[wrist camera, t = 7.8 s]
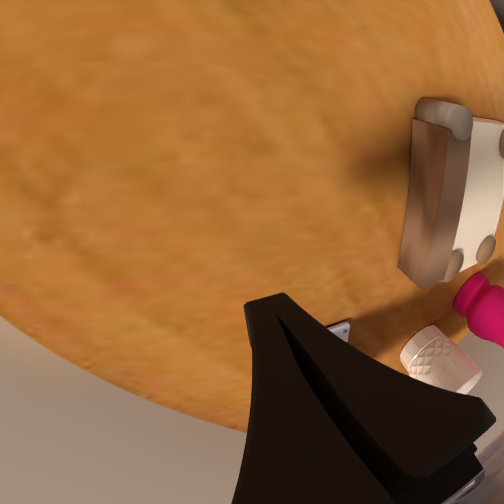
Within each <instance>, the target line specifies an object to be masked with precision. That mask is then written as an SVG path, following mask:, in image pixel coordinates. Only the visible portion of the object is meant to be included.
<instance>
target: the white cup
mask: <svg viewBox="0 0 504 504" xmlns="http://www.w3.org/2000/svg"><path fill="white" fill-rule="evenodd" d="M400 361H401V362H402V364H403V365H404V367H405V368H406V370H407V371H408V372H409V375H410V377H412V378H415V379H417V380H420V381H422V382H425V383H427V384H430V385H433V386H436V387H439V388H442V389H445V390H449V391H453V392H457V393H461V394H467V393H468V392H469V391H470V390H471V389H472V388H473V386H474V385H475V384H476V383H477V382H478V380H479V379H480V377H481V375H482V373H483V372H482V371H481V369H480V368H478V367H477V365H476V364H475V363H474V362H473V361H472V360H471V359H470V358H469V357H468V356H467V355H466V354H465V353H464V352H463V351H462V350H461V349H460V348H459V347H458V346H457V345H456V344H455V343H454V342H453V341H452V340H451V339H450V338H449V337H446V335H444V334H443V333H442V332H441V331H440V330H439V329H438V328H437V327H436V326H435V325H430V326H427V327H425V328H423V329H422V330H420V331H419V332H418V333H416V334H415V335H414V336H413V337H412V338H411V339H410V340H409V341H408V343H407V344H406V345H405V346H404V348H403V350H402V352H401V354H400Z"/></svg>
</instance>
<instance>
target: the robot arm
mask: <svg viewBox="0 0 504 504" xmlns="http://www.w3.org/2000/svg"><path fill="white" fill-rule="evenodd" d="M244 312H245V318H246V324H247V329H248V335H249V341H250V345H251V348H252V393H251V406H250V415H249V423H248V431H247V437H246V444H245V449H244V454H243V459H242V464H241V468H240V473H239V478H238V482H237V486H236V489H235V493H234V496H233V500H232V503H231V504H445V503H446V502H447V503H446V504H504V431H503V432H502V433H501V434H500V435H499V436H498V437H497V438H496V439H495V440H494V441H492V442H491V443H490V444H489V446H488V447H486V448H485V449H484V450H483V451H482V452H481V453H480V454H478V455H477V456H475V454H474V453H475V452H476V451H477V447H476V446H475V445H474V443H473V442H474V441H476V440H477V439H478V438H479V437H480V436H481V435H482V434H483V433H485V432H486V431H487V430H488V429H489V428H490V427H491V426H492V425H493V424H494V423H495V422H496V417H495V416H494V415H493V413H492V412H491V411H490V409H489V408H488V407H487V405H486V404H485V403H484V402H483V401H482V399H481V398H479V397H475V396H470V395H466V394H461V393H457V392H453V391H449V390H445V389H442V388H439V387H436V386H433V385H430V384H427V383H425V382H422V381H420V380H417V379H415V378H412V377H410V376H407V375H405V374H402V373H400V372H398V371H396V370H394V369H392V368H390V367H388V366H386V365H384V364H382V363H380V362H378V361H376V360H374V359H373V358H371V357H369V356H367V355H366V354H364V353H362V352H361V351H359V350H358V349H356V348H354V347H353V346H351V345H350V344H348V343H347V341H348V336H349V330H350V324H349V323H348V322H343V323H340V324H337V325H334V326H332V327H329V328H326V327H325V326H323V325H322V324H321V323H319V322H318V321H317V320H316V319H314V318H313V317H312V316H311V315H309V314H308V313H307V312H306V311H305V310H303V309H302V308H301V307H300V306H299V305H298V304H297V303H295V302H294V301H293V300H292V299H291V298H290V297H289V296H288V295H287V294H285V293H279V294H275V295H272V296H268V297H264V298H261V299H257V300H253V301H250V302H246V304H245V305H244ZM474 480H475V483H474V484H473V485H471V486H469V487H468V488H466V489H465V490H463V489H464V488H465V487H466V486H468V485H469V484H470V483H471V482H472V481H474ZM462 490H463V491H462ZM459 492H460V493H459Z"/></svg>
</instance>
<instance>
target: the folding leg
mask: <svg viewBox="0 0 504 504" xmlns="http://www.w3.org/2000/svg"><path fill="white" fill-rule="evenodd" d="M415 116H416V119H412V149H411V167H410V180H409V190H408V200H407V209H406V217H405V224H404V231H403V238H402V244H401V250H400V256H399V261H398V267H397V268H399V269H400V270H401V271H402V272H403V273H404V274H405V275H406V276H407V277H408V278H409V279H410V280H412V281H413V282H414V283H415V284H416V285H417V286H418V287H419V288H420V289H421V290H422V289H425V288H427V287H429V286H431V285H433V284H435V283H437V282H439V281H442V280H444V278H445V275H446V272H447V268H448V265H449V261H450V257H451V254H452V250H453V246H454V242H455V238H456V233H457V229H458V224H459V220H460V215H461V210H462V205H463V199H464V193H465V187H466V180H467V173H468V165H469V156H470V146H471V133H472V129H473V116H472V113H471V111H470V109H469V108H468V107H465V106H461V105H457V104H453V103H449V102H445V101H440V100H436V99H431V98H426V97H425V98H421V99H420V100H419V101H418V103H417V105H416V109H415Z"/></svg>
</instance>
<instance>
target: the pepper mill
mask: <svg viewBox="0 0 504 504" xmlns="http://www.w3.org/2000/svg"><path fill="white" fill-rule="evenodd" d="M454 309H455V311H456V312H457V313H458V314H459V315H460V316H461V317H467V323H468V328H469V330H470V331H471V332H472V333H474V334H475V335H476V336H478V337H480V338H482V339H485V340H488V341H491V342H494V343H497V344H498V345H500V346H502V347H503V348H504V289H503V287H501V286H499V285H491V286H489V280H488V279H487V278H485V277H484V276H483V275H482V274H480V273H476V274H474V275H473V276H471V277H470V278H469V279H468V280H467V281H466V283H465V284H464V285H463V286H462V288H461V289H460V291H459V293H458V294H457V296H456V299H455V302H454Z"/></svg>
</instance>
